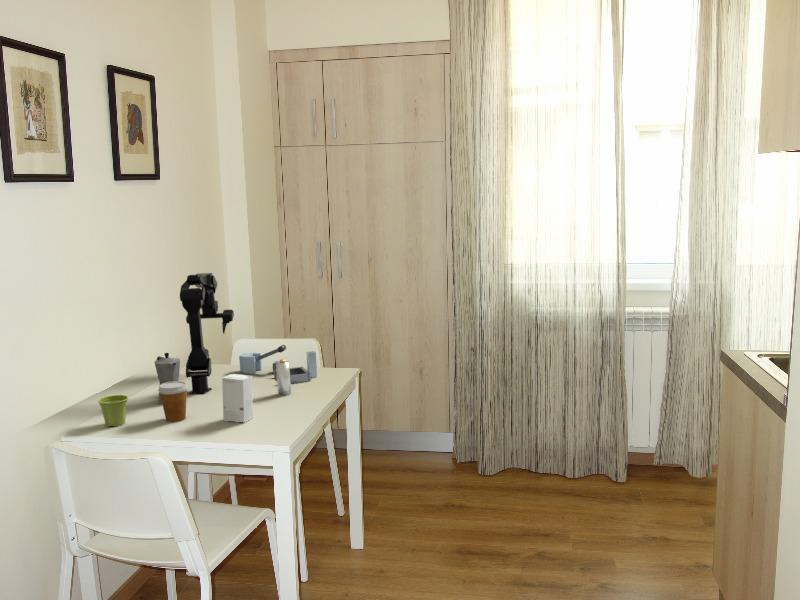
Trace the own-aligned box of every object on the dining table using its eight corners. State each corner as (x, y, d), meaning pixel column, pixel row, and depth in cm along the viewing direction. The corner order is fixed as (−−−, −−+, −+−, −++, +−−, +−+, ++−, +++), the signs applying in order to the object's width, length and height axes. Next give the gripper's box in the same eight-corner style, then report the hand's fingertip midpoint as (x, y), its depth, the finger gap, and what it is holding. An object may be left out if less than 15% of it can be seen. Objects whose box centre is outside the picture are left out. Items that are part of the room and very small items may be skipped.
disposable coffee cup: (166, 415, 249) (163, 381, 247) (194, 414, 249) (191, 380, 247) (157, 424, 240) (153, 389, 238) (185, 423, 240) (182, 388, 238)
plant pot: (121, 417, 248) (118, 393, 247) (136, 422, 242) (133, 397, 241) (95, 425, 241) (92, 400, 240) (110, 430, 235) (107, 404, 234)
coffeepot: (191, 401, 264) (186, 353, 261) (166, 407, 258) (161, 358, 255) (172, 393, 276) (168, 347, 273) (148, 399, 270) (144, 351, 267)
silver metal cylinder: (288, 396, 267) (286, 361, 265) (276, 395, 268) (273, 361, 266) (293, 392, 271) (290, 358, 269) (280, 392, 272) (278, 358, 270)
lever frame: (277, 374, 298) (276, 357, 297) (239, 373, 302) (238, 356, 301) (283, 370, 305) (282, 353, 304) (246, 369, 308) (245, 352, 307)
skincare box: (223, 421, 240) (219, 377, 238) (233, 416, 246) (230, 373, 243) (245, 423, 237) (242, 379, 235) (255, 417, 243) (252, 374, 240)
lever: (283, 351, 298) (281, 345, 297) (256, 362, 301) (253, 357, 301) (287, 349, 301) (284, 343, 301) (259, 360, 305) (257, 355, 304)
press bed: (281, 385, 282) (279, 359, 280) (274, 377, 293) (272, 353, 292) (320, 379, 288) (318, 354, 286) (312, 372, 299) (310, 348, 298)
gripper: (233, 291, 307) (237, 323, 315) (188, 293, 306) (193, 325, 313) (229, 303, 297) (234, 336, 305) (183, 306, 296) (189, 338, 304)
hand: (212, 333), depth 307 cm, fingers open, 9 cm apart
